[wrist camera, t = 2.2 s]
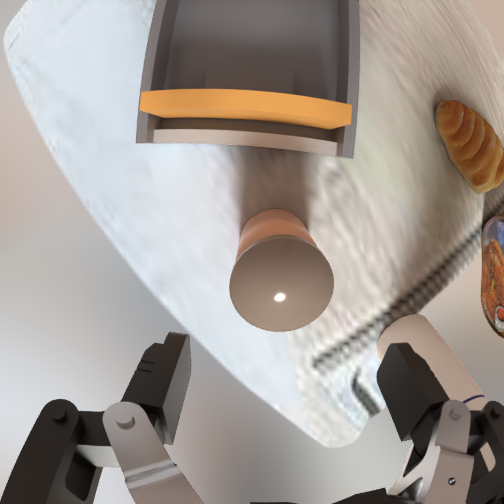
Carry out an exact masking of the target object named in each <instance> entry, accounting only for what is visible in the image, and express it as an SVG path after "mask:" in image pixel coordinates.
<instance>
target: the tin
mask: <svg viewBox="0 0 504 504" xmlns="http://www.w3.org/2000/svg"><path fill="white" fill-rule="evenodd" d="M481 241H482V283H481V303H482V308H483V311H484V314H485V317H486V319H487V321H488V323H489V324H490V326H491V328H492V329H493V330H494V331H495V332H496V334H498V335H499V336H500V337H502V338H504V212H503V213H501V214H499V215H497V216H495V217H492V218H491V219H489V220H488V221H487V223H486V224H485V226H484V229H483V232H482V240H481Z"/></svg>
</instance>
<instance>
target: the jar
mask: <svg viewBox="0 0 504 504" xmlns="http://www.w3.org/2000/svg"><path fill="white" fill-rule="evenodd" d="M333 288H334V278H333V273H332V269H331V267H330V265H329V263H328V261H327V259H326V258H325V256H324V255H323V253H322V252H321V251H320V250H319V249H318V247H317V246H316V244H315V242H314V241H313V239H312V237H311V236H310V234H309V232H308V231H307V229H306V227H305V226H304V224H303V223H302V221H301V220H300V219H299V218H298V217H297V216H296V215H294V214H292V213H291V212H289V211H286V210H282V209H267V210H264V211H261V212H259V213H257V214H255V215H254V216H252V217H251V218H250V219H249V220H248V221H247V223H246V224H245V226H244V227H243V230H242V232H241V236H240V241H239V246H238V251H237V256H236V262H235V264H234V266H233V269H232V273H231V278H230V285H229V289H230V297H231V300H232V303H233V305H234V307H235V309H236V310H237V312H238V313H239V314H240V316H241V317H242V318H243V319H245V320H246V321H247V322H249V323H250V324H252V325H253V326H256V327H258V328H260V329H263V330H267V331H274V332H284V331H291V330H295V329H299V328H301V327H304V326H306V325H308V324H309V323H311V322H312V321H314V320H315V319H316V318H318V317H319V316H320V315H321V314H322V312H323V311H324V310H325V309H326V307H327V306H328V304H329V302H330V300H331V297H332V294H333Z"/></svg>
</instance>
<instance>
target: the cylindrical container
mask: <svg viewBox="0 0 504 504" xmlns="http://www.w3.org/2000/svg"><path fill="white" fill-rule="evenodd" d="M402 342H407V343H409V344H410V345H411V347H412V348H413V350H414V352H415V353H417V354H419V355H420V356H421V357H422V358H423V359H425V360H426V362H427V364H428V365H429V367H430V368H431V369H430V370H432V371H433V373H434V374H435V377H437V379H438V381H439V382H440V384H441V385H442V387H443V389H444V390H445V392H446V394H447V395H448V397H449V399H450V400H458V401H461V402H463V403H464V404H465V405H466V406H467V407H468V408H469V410H482V409H483V407H484V406H485V405H486V403H488V401H487V399H486V398H485V397H484V395H483V393H482V392H481V391H480V389H479V388H478V386H477V385H476V383H475V382H474V380H473V379H472V377H471V376H470V375H469V373H468V372H467V370H466V369H465V368H464V366H463V365H462V364H461V362H460V361H459V360H458V358H457V357H456V355H455V354H454V353H453V351H452V350H451V349H450V348H449V346H448V345H447V344H446V342H445V341H444V340H443V339H442V337H441V336H440V335H439V333H438V332H437V331H436V330H435V329H434V327H433V326H432V325H431V324H430V323H429V321H428V320H427V319H426V318H425V317H424V316H422V315H419V314H412V315H407V316H404V317H402V318H400V319H398V320H396V321H395V322H393V323H392V324H391V325H390V326H389V327H387V328H386V330H385V331H384V332H383V333H382V335H381V336H380V338H379V340H378V342H377V345H376V356H377V358H378V360H379V362H380V364H381V362H382V360H383V358H384V355H385V353H386V351H387V348H388V346H389V345H390V344H391V343H402ZM480 451H481V453H482V456H483V458H484V460H485V463H486V465H487V468H488V470H489V472H490V471H491V470H492V469H493V468H494V466H495V458H494V455H493V453H492V451H491V449H490V446H489V444H488V442H487V443H486V444H485V445H484V446H483V447H482V448H481V449H480ZM465 504H466V502H465Z"/></svg>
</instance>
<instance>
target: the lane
mask: <svg viewBox="0 0 504 504" xmlns="http://www.w3.org/2000/svg"><path fill="white" fill-rule="evenodd" d="M207 60H223V61H250V62H264V63H275V64H284V65H292V66H295V67H294V80H293V93H292V95H300V96H306V97H313V98H319V99H324V100H330V101H335V102H340V103H345V104H350V105H352V116H351V124H349V125H345V126H341V127H338V128H334V129H330V130H329V129H323V128H317V127H310V126H303V125H296V124H288V123H279V122H269V121H258V120H245V119H227V118H163V117H160V116H157V115H154V114H150V113H147V112H143V111H140V100H141V92H146V91H158V90H175V89H204V86H205V77H206V68H207ZM359 71H360V21H359V0H157V2H156V6H155V10H154V14H153V19H152V23H151V28H150V33H149V38H148V43H147V48H146V54H145V60H144V67H143V73H142V81H141V89H140V97H139V107H138V118H137V132H136V143H198V144H224V145H241V146H254V147H266V148H276V149H285V150H293V151H301V152H309V153H316V154H323V155H329V156H335V157H342V158H351V159H353V155H354V145H355V135H356V124H357V111H358V95H359Z"/></svg>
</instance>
